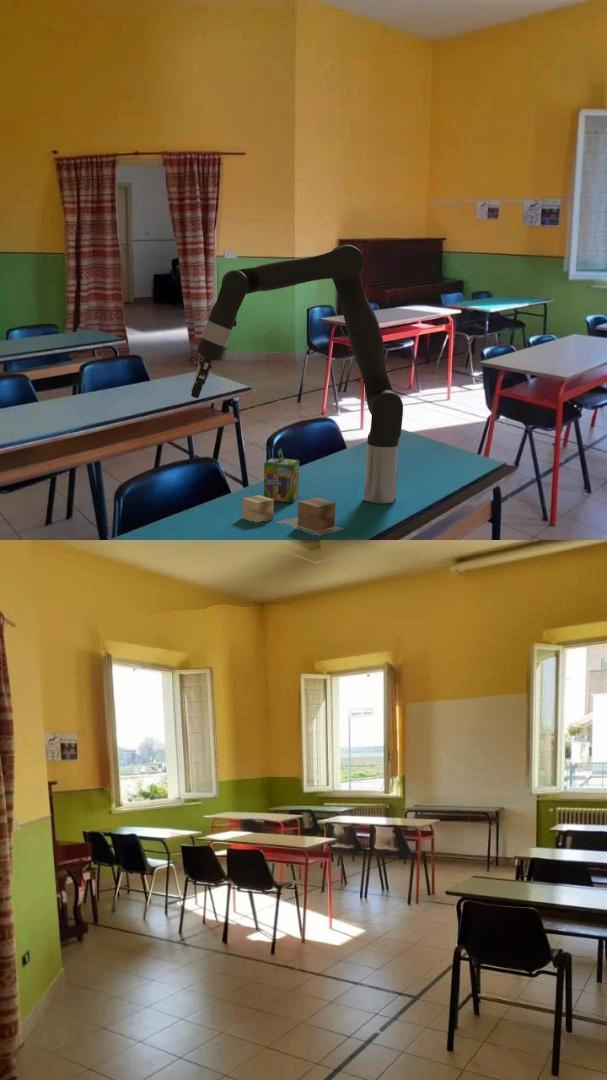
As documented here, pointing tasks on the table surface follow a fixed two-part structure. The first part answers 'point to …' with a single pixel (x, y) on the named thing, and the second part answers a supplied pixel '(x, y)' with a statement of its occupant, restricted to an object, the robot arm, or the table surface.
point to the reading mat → (294, 522)
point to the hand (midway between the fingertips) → (194, 395)
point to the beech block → (258, 508)
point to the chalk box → (281, 479)
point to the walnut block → (316, 514)
